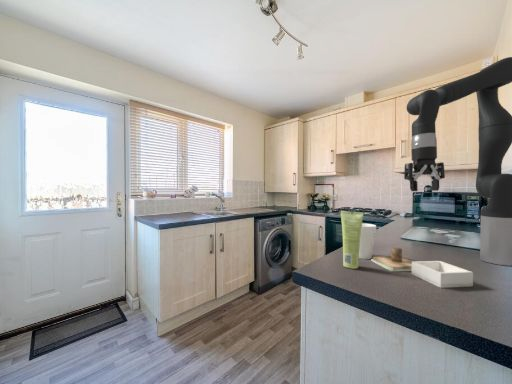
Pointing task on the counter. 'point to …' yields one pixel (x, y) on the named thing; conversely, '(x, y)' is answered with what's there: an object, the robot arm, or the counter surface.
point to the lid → (394, 260)
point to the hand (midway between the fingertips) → (424, 190)
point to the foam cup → (367, 240)
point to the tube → (351, 237)
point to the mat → (389, 268)
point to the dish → (442, 274)
